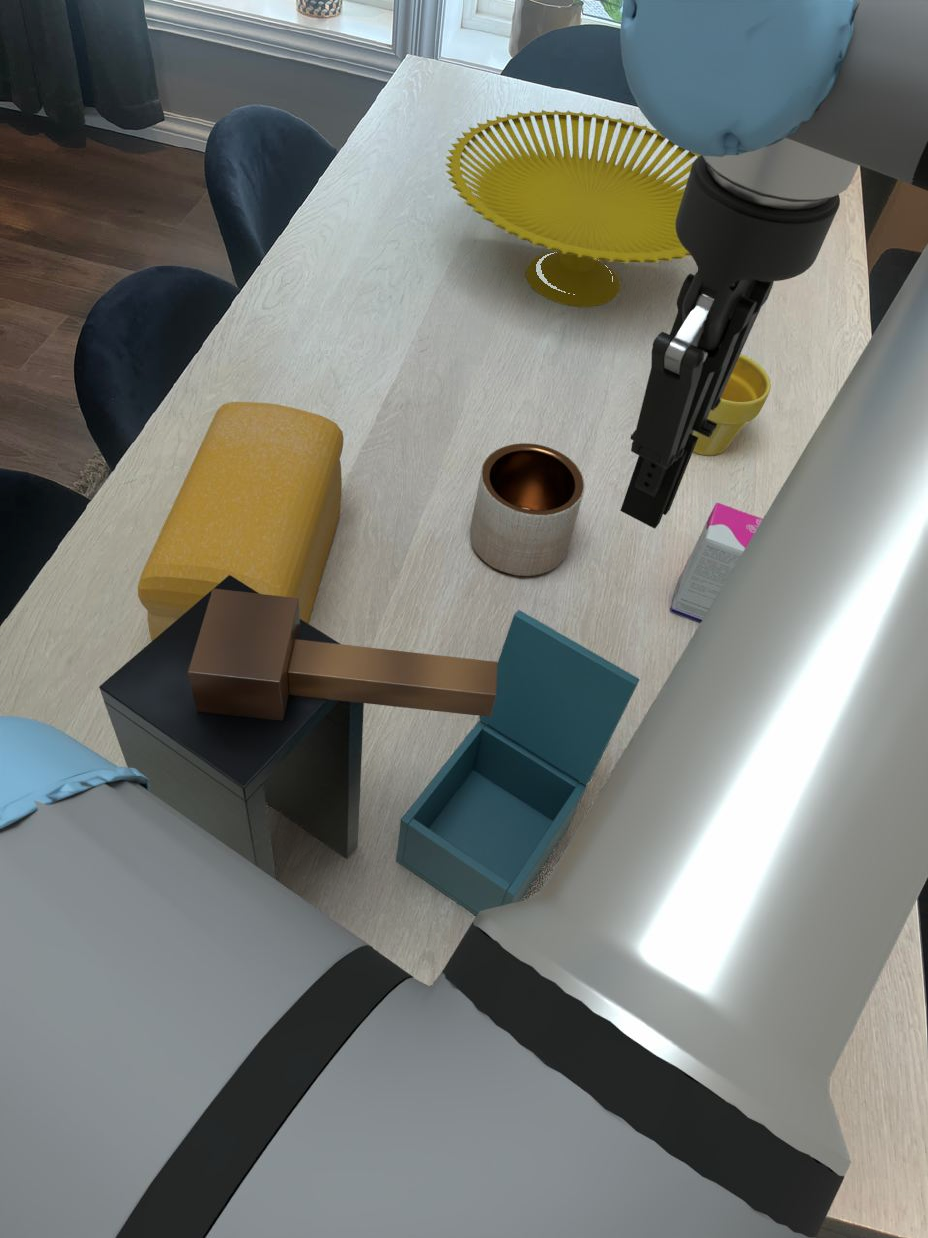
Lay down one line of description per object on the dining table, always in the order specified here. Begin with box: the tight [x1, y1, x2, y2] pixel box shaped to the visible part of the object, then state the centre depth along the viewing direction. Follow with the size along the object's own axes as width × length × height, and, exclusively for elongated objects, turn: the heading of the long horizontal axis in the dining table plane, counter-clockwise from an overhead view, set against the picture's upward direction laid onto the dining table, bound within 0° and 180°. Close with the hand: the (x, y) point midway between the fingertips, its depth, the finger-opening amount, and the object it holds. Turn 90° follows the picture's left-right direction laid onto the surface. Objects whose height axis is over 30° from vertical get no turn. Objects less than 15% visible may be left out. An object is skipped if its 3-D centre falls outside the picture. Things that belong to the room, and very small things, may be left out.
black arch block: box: [98, 575, 365, 880], centre depth 66 cm, size 11×11×27 cm
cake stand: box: [445, 109, 700, 308], centre depth 129 cm, size 40×40×15 cm
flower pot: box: [692, 353, 772, 456], centre depth 112 cm, size 10×10×10 cm
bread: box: [137, 401, 344, 642], centre depth 88 cm, size 24×13×15 cm, turn 173°
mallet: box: [188, 589, 498, 721], centre depth 54 cm, size 17×6×4 cm, turn 86°
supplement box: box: [669, 502, 763, 624], centre depth 94 cm, size 6×6×12 cm
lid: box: [478, 609, 640, 786], centre depth 72 cm, size 12×10×1 cm
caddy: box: [395, 719, 588, 917], centre depth 76 cm, size 11×10×8 cm
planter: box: [469, 442, 585, 577], centre depth 98 cm, size 11×11×10 cm
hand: (645, 509), depth 64 cm, fingers closed
